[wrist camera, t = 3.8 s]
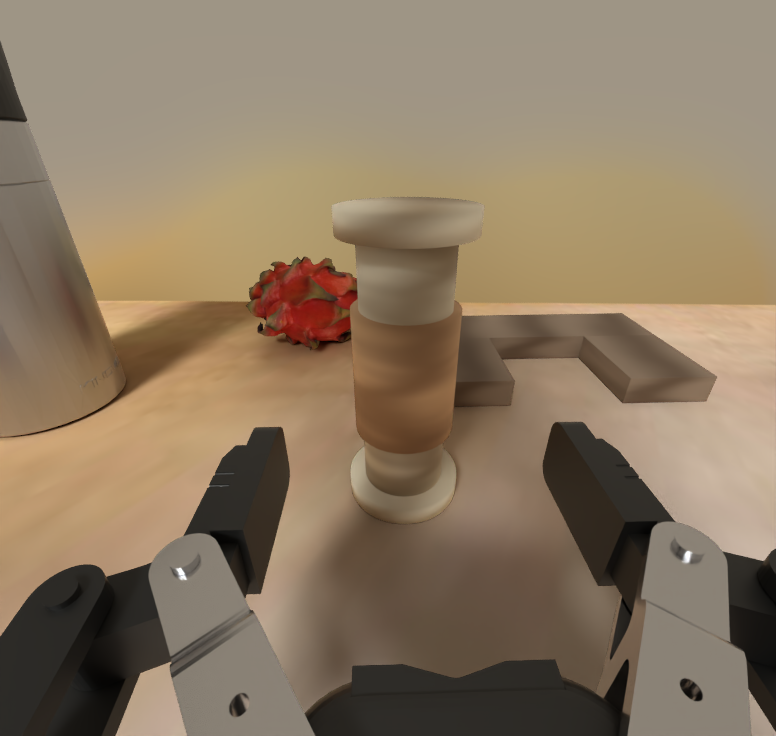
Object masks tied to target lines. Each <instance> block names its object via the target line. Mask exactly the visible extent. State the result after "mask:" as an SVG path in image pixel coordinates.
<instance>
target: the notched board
mask: <svg viewBox="0 0 776 736" xmlns="http://www.w3.org/2000/svg"><path fill="white" fill-rule="evenodd" d="M569 357H579V359H580V360H581V361H582V362H583V363H584V364H585V365H586V366H587V367H588V368H589V369H590V370H591V371H592V372H593V373H594V374H595V375H596V376H597V377H598V378H599V379H600V380H601V381H602V382H603V383H604V384H605V385H606V386H607V387H608V388H609V389H610V390H611V391H612V392H613V393H614V394H615V395H616V396H617V397H618V398H619V399H620V401H621V402H622V403H640V402H688V401H706V400H707V398H708V396H709V394H710V392H711V390H712V387H713V385H714V383H715V381H716V379H717V376H715V375H714V374H712V373H711V372H709V371H708V370H706V369H705V368H703V367H702V366H700V365H699V364H697V363H696V362H694V361H693V360H691V359H690V358H688V357H687V356H685V355H684V354H682V353H681V352H679V351H678V350H676V349H675V348H673V347H672V346H670V345H669V344H667V343H666V342H664V341H663V340H661V339H660V338H658V337H657V336H655V335H654V334H652V333H651V332H649V331H648V330H646V329H645V328H643V327H642V326H640V325H639V324H637V323H636V322H634V321H633V320H631V319H630V318H628V317H627V316H625V315H624V314H622V313H614V314H553V315H492V316H462V319H461V330H460V341H459V352H458V363H457V374H456V386H455V397H454V406H496V405H511V400H512V394H513V388H514V382H515V380H514V379H513V377H512V375H511V374H510V372H509V370H508V369H507V367H506V365H505V364H504V362H503V360H502V359H515V358H569Z"/></svg>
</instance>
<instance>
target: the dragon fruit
mask: <svg viewBox="0 0 776 736" xmlns="http://www.w3.org/2000/svg"><path fill="white" fill-rule="evenodd" d="M271 265H273V266H274V267H275V268H274V271H272V270H270V269H269V270H267V271H263V272H262V273H261V274H260V281H259V282H257V283H256V284H255V285H254V286H253V287H252V288H249V290H250V291H249V295H250V299H251V302H249V304H247V305H248V306H247V308H249V311H250V312H251V313H252V314H253V315H254V316H256V317H261V318H264V319H265V320H266V325H265V328H264V329H263V324H261V322H260V325H259V326H258V333H261V334H263V335H264V336H277V335H278V334H280V333H285V334H286V338H287V340H288V342H289V343H290V344H296V343H297V342H298V341H300V342H302V343H303V344H304V345H305V346H306V347H312V349H310V350H314V349H316V348H318V345H319V342H320V341H329V340H335V341H340V342H344V341H346V340H348V339H350V338H351V332H346V333H344V332H345V331H347V330H349V329H350V328H351V320H350V306H351V304H352V303H353V302H354V301H356V300H357V299H358V292H357V278H354V277H352V274H350V273H344V272H337V271H335V267H334V266H333V264H332V260H331V259H329V258H325V259H324V260H323V261H321V262H320V263H319V264H316V265H313V264H312V262H311V260H310V259H308V258H307V257H303V259H302V260H300V259H299V258H298V257H297V258H296V259H294V260H293V262H292V264H291V265H286V264H285V263H283V262H273V263H272V264H271ZM342 333H344V334H342Z"/></svg>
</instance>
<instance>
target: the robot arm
mask: <svg viewBox="0 0 776 736" xmlns="http://www.w3.org/2000/svg"><path fill="white" fill-rule="evenodd" d="M26 121H27V118H26V116H25V113H24V111H23V108H22V106H21V103H20V100H19V98H18V95H17V92H16V89H15V86H14V82H13V79H12V76H11V73H10V69H9V66H8V63H7V60H6V57H5V54H4V51H3V48H2V45H1V42H0V437H9V436H17V435H25V434H30V433H34V432H39V431H43V430H47V429H50V428H54V427H57V426H60V425H63V424H66V423H69V422H71V421H74V420H76V419H79V418H81V417H83V416H85V415H87V414H89V413H92V412H94V411H96V410H97V409H99V408H101V407H102V406H104V405H105V404H107V403H109V402H110V401H111V400H112V399H114V398H115V397H116V396H117V395H118V394H119V393H120V392H121V391H122V389H123V388H124V386H125V383H126V377H125V374H124V371H123V369H122V366H121V364H120V361H119V358H118V356H117V353H116V350H115V348H114V345H113V343H112V340H111V337H110V335H109V332H108V329H107V326H106V324H105V321H104V319H103V316H102V313H101V311H100V308H99V306H98V303H97V300H96V298H95V295H94V293H93V290H92V288H91V285H90V283H89V280H88V277H87V274H86V272H85V269H84V267H83V264H82V262H81V259H80V256H79V254H78V251H77V249H76V246H75V243H74V241H73V238H72V236H71V233H70V230H69V228H68V225H67V223H66V220H65V217H64V215H63V212H62V210H61V207H60V204H59V202H58V199H57V197H56V194H55V191H54V189H53V186H52V184H51V181H50V180H49V176H48V174H47V171H46V168H45V166H44V164H43V161H42V158H41V155H40V153H39V150H38V148H37V145H36V142H35V140H34V137H33V135H32V132H31V129H30V127H29V124H28V123H26ZM629 465H630V464H629V463H628V462H627V461H626V459H625V458H624V457H623V456H622V454H621V453H620V452H619V451H618V450H617V449H616V448H614V447H613V446H611V445H610V444H608V443H607V442H606V441H604V440H603V439H596V438H595V437H594V435H593V434H592V433H591V431H590V430H589V429H588V428H587V426H586V425H585V424H584V423H583V422H556V423H554V424H553V426H552V428H551V432H550V436H549V440H548V444H547V448H546V452H545V456H544V460H543V474H544V478H545V481H546V484H547V486H548V488H549V490H550V492H551V494H552V496H553V498H554V500H555V502H556V504H557V506H558V507H559V509H560V511H561V513H562V515H563V517H564V519H565V521H566V523H567V525H568V527H569V529H570V531H571V533H572V535H573V537H574V539H575V541H576V543H577V545H578V547H579V549H580V551H581V553H582V555H583V557H584V559H585V561H586V563H587V565H588V567H589V569H590V571H591V573H592V575H593V577H594V579H595V581H596V583H597V585H598V586H612V585H616V586H617V588H618V590H619V592H620V594H621V595H620V597H619V600H618V602H617V607H616V612H615V616H614V621H613V626H612V631H611V635H610V640H609V645H608V650H607V654H606V659H605V664H604V668H603V672H602V675H601V678H600V681H599V684H598V686H597V689H596V692H593V691H591V690H590V689H588V688H586V687H584V686H582V685H580V684H578V683H576V682H573V681H571V680H568V679H566V678H562V677H561V675H560V672H559V669H558V667H557V664H556V661H555V660H524V661H505V662H502V663H499V664H496V665H494V666H491V667H488V668H485V669H483V670H480V671H477V672H475V673H472V674H469V675H466V676H464V677H460V678H451V677H447V676H444V675H440V674H436V673H433V672H429V671H425V670H422V669H418V668H414V667H411V666H407V665H403V664H397V665H366V666H353V667H352V682H351V683H348V684H346V685H343V686H341V687H339V688H337V689H335V690H333V691H331V692H330V693H328V694H327V695H325V696H324V697H323V698H321V699H320V700H318V701H317V702H316V703H315V704H314V705H313V706H312V707H311V708H309V709H308V710H307V711H306V712H305V714H304V712H303V710H302V708H301V706H300V704H299V702H298V700H297V698H296V696H295V694H294V692H293V689H292V687H291V685H290V683H289V681H288V679H287V677H286V675H285V673H284V671H283V669H282V667H281V665H280V663H279V661H278V659H277V657H276V655H275V653H274V651H273V649H272V647H271V645H270V643H269V641H268V638H267V636H266V634H265V632H264V630H263V628H262V626H261V624H260V622H259V620H258V618H257V616H256V615H255V613H254V611H253V610H250V608H249V606H248V604H247V602H246V600H245V598H246V595H247V594H261V590H262V587H263V583H264V579H265V575H266V571H267V567H268V564H269V560H270V556H271V552H272V548H273V544H274V540H275V537H276V533H277V529H278V525H279V521H280V517H281V514H282V510H283V506H284V502H285V498H286V494H287V491H288V486H289V478H290V469H289V462H288V456H287V450H286V444H285V438H284V433H283V429H282V428H281V427H258V428H254V430H253V432H252V434H251V436H250V438H249V441H248V443H247V445H238V446H235V447H234V448H233V449H232V450H231V451H230V452H228V453H227V454H226V455H225V456H224V457H223V458H222V460H221V462H220V464H219V466H218V468H217V470H216V472H215V475H214V476H213V478H212V480H211V482H210V484H209V488H207V490H206V492H205V494H204V496H203V498H202V500H201V502H200V504H199V506H198V508H197V510H196V512H195V514H194V516H193V518H192V520H191V522H190V524H189V526H188V528H187V530H186V532H185V534H184V536H183V537H180V538H178V539H176V540H174V541H173V542H171V543H170V544H168V545H167V546H165V547H164V548H163V549H162V550H161V551H160V552H159V553H158V554H157V556H156V557H155V558H154V560H153V562H152V563H149V564H147V565H144V566H141V567H138V568H134V569H131V570H128V571H125V572H121V573H118V574H115V575H111V576H108V577H106V576H105V574H104V572H103V571H102V569H100V568H99V567H97V566H95V565H78V566H74V567H71V568H68V569H66V570H63V571H61V572H59V573H57V574H56V575H54V576H52V577H51V578H49V579H48V580H46V581H45V582H44V583H42V584H41V585H40V586H39V587H38V588H37V589H36V590H35V591H34V592H33V593H32V594H31V595H30V596H29V597H28V599H27V600H26V601H25V603H24V604H23V606H22V607H21V608H20V610H19V611H18V613H17V614H16V615H15V617H14V618H13V620H12V621H11V622H10V624H9V625H8V627H7V628H6V629H5V631H4V632H3V634H2V635H1V636H0V736H115V735H116V733H117V730H118V728H119V725H120V723H121V720H122V718H123V715H124V713H125V710H126V708H127V705H128V703H129V700H130V698H131V695H132V693H133V690H134V688H135V685H136V683H137V680H138V678H139V675H140V673H142V672H144V671H147V670H150V669H152V668H155V667H158V666H160V665H163V664H166V663H168V662H171V661H172V664H170V672H171V677H172V681H173V685H174V689H175V692H176V696H177V700H178V703H179V707H180V711H181V714H182V718H183V722H184V725H185V729H186V733H187V736H751V723H750V707H749V691H748V689H749V690H750V692H751V694H752V695H753V697H754V698H755V700H756V701H757V703H758V705H759V706H760V708H761V709H762V711H763V712H764V714H765V716H766V717H767V719H768V720H769V722H770V723H771V725H772V727H773V728H774V730H775V731H776V549H774V550H773V551H771V553H770V554H769V555H768V557H767V558H766V559H765V561H760V560H756V559H752V558H748V557H743V556H739V555H735V554H731V553H727V552H723V551H722V550H721V549H720V548H719V547H718V545H717V544H716V543H715V542H714V541H712V540H711V539H710V538H709V537H708V536H706V535H705V534H703V533H702V532H700V531H698V530H696V529H694V528H692V527H690V526H687V525H685V524H681V523H677V522H675V521H674V520H673V518H672V517H671V516H670V515H669V513H668V512H667V511H666V510H665V508H664V507H663V506H662V504H661V503H660V502H659V501H658V499H657V498H656V497H655V496H654V494H653V493H652V492H651V491H650V489H649V488H648V487H647V486H646V484H645V483H644V482H643V481H642V479H639V476H638V474H637V473H636V472H635V471H634V469H633V468H632V467H630V466H629Z"/></svg>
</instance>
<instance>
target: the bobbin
mask: <svg viewBox="0 0 776 736" xmlns="http://www.w3.org/2000/svg"><path fill="white" fill-rule="evenodd" d="M483 215H484V205H483V204H480V203H477V202H473V201H467V200H459V199H448V198H430V197H390V198H370V199H359V200H350V201H345V202H340V203H336V204H334V205H332V219H333V233H334V237H335V238H336V239H338V240H340V241H342V242H345V243H350V244H354V245H355V248H356V269H357V292H358V299H357V300H356V301H354V302H353V303H352V304H351V306H350V320H351V338H352V355H353V373H354V391H355V408H356V426H357V431H358V433H359V435H360V436H361V437H362V439H363V440H364V444H365V446H364V447H362V448H361V449H360V450H359V451H358V453H357V454H356V455H355V457H354V459H353V461H352V464H351V487H352V493H353V495H354V498H355V500H356V501H357V503H358V504H359V505H360V507H361V508H362V509H363V510H365V511H366V512H367V513H368V514H370V515H371V516H373V517H375V518H377V519H380V520H382V521H385V522H389V523H395V524H415V523H420V522H423V521H427V520H429V519H431V518H434V517H435V516H437V515H439V514H440V513H441V512H442V511H444V510H445V509H446V508H447V506H448V505H449V504H450V502H451V501H452V498H453V496H454V492H455V483H456V466H455V463H454V461H453V459H452V457H451V456H450V454H449V453H448V452H447V451H446V450H445V449H444V448H443V442H444V441H445V440H446V439H447V438H448V437H449V435H450V433H451V429H452V419H453V408H454V397H455V386H456V374H457V363H458V352H459V341H460V330H461V319H462V307H461V305H460V304H459V303H458V302H457V301H455V300H454V298H455V285H456V273H457V272H456V271H457V260H458V247H459V245H462V244H466V243H470V242H473V241H476V240H477V239H479V238H480V237H481V234H482V224H483Z"/></svg>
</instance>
